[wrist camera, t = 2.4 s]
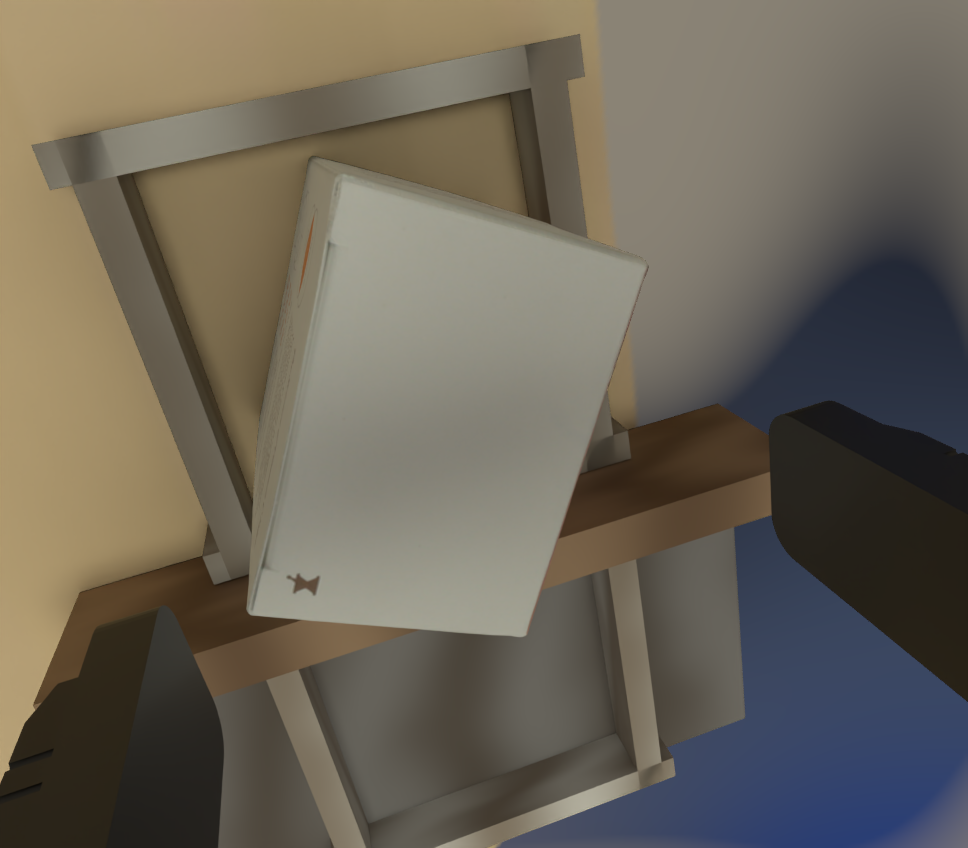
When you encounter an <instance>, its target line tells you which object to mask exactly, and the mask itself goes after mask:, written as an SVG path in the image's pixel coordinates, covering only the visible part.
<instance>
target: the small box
mask: <svg viewBox="0 0 968 848" xmlns="http://www.w3.org/2000/svg"><path fill="white" fill-rule="evenodd" d="M648 268H649V266H648V264H647V262H646V261H645V260H644V259H643V258H641V257H639V256H636V255H634V254H631V253H628V252H625V251H622V250H620V249H617V248H614V247H611V246H608V245H605V244H602V243H599V242H597V241H594V240H591V239H588V238H585V237H582V236H579V235H576V234H573V233H570V232H567V231H564V230H562V229H559V228H557V227H555V226H552V225H550V224H548V223H545V222H542V221H539V220H536V219H533V218H529V217H526V216H523V215H520V214H517V213H514V212H511V211H508V210H504V209H501V208H498V207H495V206H492V205H489V204H485V203H482V202H479V201H476V200H473V199H470V198H466V197H463V196H460V195H456V194H453V193H450V192H446V191H443V190H439V189H436V188H432V187H429V186H425V185H421V184H418V183H414V182H411V181H407V180H403V179H400V178H396V177H393V176H389V175H385V174H381V173H378V172H374V171H370V170H366V169H362V168H359V167H355V166H351V165H347V164H343V163H340V162H336V161H332V160H328V159H324V158H320V157H316V156H312V157H310V158H309V160H308V165H307V172H306V178H305V183H304V188H303V193H302V198H301V203H300V209H299V214H298V220H297V225H296V230H295V236H294V241H293V246H292V252H291V257H290V262H289V268H288V273H287V278H286V284H285V289H284V294H283V299H282V304H281V310H280V315H279V320H278V325H277V330H276V335H275V340H274V346H273V351H272V356H271V361H270V367H269V372H268V377H267V383H266V388H265V393H264V399H263V403H262V408H261V413H260V418H259V428H258V439H257V450H256V464H255V478H254V494H253V513H252V539H251V553H250V568H249V586H248V597H247V608H246V610H247V612H248V613H249V614H250V615H253V616H264V617H275V618H287V619H299V620H308V621H320V622H333V623H345V624H357V625H370V626H382V627H395V628H408V629H421V630H433V631H444V632H456V633H468V634H483V635H501V636H514V637H524V636H526V635H527V634H528V631H529V627H530V624H531V621H532V618H533V615H534V612H535V609H536V606H537V603H538V600H539V597H540V594H541V591H542V588H543V585H544V582H545V579H546V576H547V573H548V570H549V567H550V564H551V561H552V557H553V554H554V551H555V548H556V545H557V542H558V539H559V536H560V533H561V530H562V527H563V524H564V521H565V518H566V514H567V511H568V508H569V505H570V502H571V498H572V495H573V492H574V489H575V486H576V483H577V480H578V477H579V474H580V472H581V469H582V465H583V462H584V459H585V456H586V453H587V450H588V447H589V445H590V442H591V438H592V435H593V432H594V429H595V426H596V423H597V420H598V417H599V414H600V411H601V408H602V405H603V402H604V398H605V395H606V392H607V389H608V386H609V383H610V380H611V377H612V374H613V371H614V368H615V365H616V362H617V359H618V356H619V353H620V350H621V347H622V344H623V341H624V338H625V335H626V332H627V329H628V326H629V323H630V321H631V317H632V314H633V311H634V308H635V305H636V302H637V299H638V296H639V293H640V289H641V286H642V283H643V281H644V278H645V276H646V273H647V271H648Z"/></svg>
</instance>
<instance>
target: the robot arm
mask: <svg viewBox="0 0 968 848" xmlns="http://www.w3.org/2000/svg"><path fill="white" fill-rule="evenodd" d="M769 456H770V484H771V513H772V520H773V525H774V529H775V531H776V534H777V536H778V538H779V541H780V542H781V544H782V546H783V547H784V549H785V550H786V552H787V553H788V554H789V555H790V556H791V557H792V558H793V559H794V560H795V561H796V562H798V563H799V564H800V565H801V566H803V567H804V568H805V569H806V570H807V571H808V572H810V573H811V574H812V575H813V576H815V577H816V578H817V579H818V580H819V581H821V582H822V583H823V584H825V585H826V586H827V587H828V588H829V589H831V590H832V591H833V592H834V593H836V594H837V595H838V596H839V597H840V598H841V599H843V600H844V601H845V602H846V603H848V604H849V605H850V606H852V607H853V608H854V609H855V610H856V611H857V612H859V613H860V614H861V615H862V616H863V617H865V618H866V619H867V620H869V621H870V622H871V623H872V624H873V625H875V626H876V627H877V628H878V629H879V630H881V631H882V632H883V633H884V634H885V635H887V636H888V637H889V638H890V639H892V640H893V641H894V642H895V643H896V644H898V645H899V646H900V647H901V648H903V649H904V650H905V651H906V652H907V653H909V654H910V655H911V656H912V657H914V658H915V659H916V660H917V661H918V662H920V663H921V664H922V665H923V666H925V667H926V668H927V669H928V670H929V671H931V672H932V673H933V674H934V675H936V676H937V677H938V678H939V679H940V680H942V681H943V682H944V683H945V684H947V685H948V686H949V687H950V688H952V689H953V690H954V691H955V692H956V693H958V694H959V695H960V696H962V698H964V699H965V700H966V701H967V702H968V455H967V454H965V453H960V454H957V452H956V449H954V448H952V447H950V446H948V445H945V444H943V443H941V442H939V441H937V440H935V439H932V438H930V437H928V436H926V435H924V434H922V433H919V432H914V431H910V430H906V429H902V428H897V427H893V426H889V425H883V424H881V423H879V422H877V421H875V420H873V419H871V418H869V417H867V416H864V415H862V414H860V413H858V412H856V411H854V410H852V409H850V408H848V407H846V406H844V405H842V404H840V403H837V402H835V401H824V402H821V403H818V404H814V405H811V406H808V407H805V408H802V409H798V410H795V411H792V412H789V413H785V414H782V415H779V416H777V417H776V418H775V419H774V420H773V421H772V423H771V425H770V429H769ZM223 765H224V741H223V733H222V727H221V723H220V718H219V715H218V711H217V708H216V705H215V703H214V700H213V698H212V695H211V693H210V691H209V689H208V687H207V684H206V682H205V680H204V678H203V676H202V673H201V671H200V669H199V667H198V665H197V662H196V660H195V658H194V656H193V654H192V651H191V649H190V647H189V645H188V642H187V640H186V638H185V636H184V634H183V631H182V629H181V627H180V625H179V623H178V621H177V619H176V617H175V615H174V613H173V612H172V611H171V609H170V608H169V607H167V606H165V605H162V606H159V607H156V608H153V609H149V610H146V611H143V612H140V613H137V614H133V615H130V616H127V617H124V618H121V619H117V620H114V621H111V622H108V623H104V624H101V625H99V626H97V627H96V629H95V630H94V632H93V635H92V638H91V641H90V644H89V647H88V650H87V653H86V656H85V659H84V661H83V664H82V667H81V670H80V673H79V676H78V677H77V678H74V679H71V680H67V681H64V682H61V683H58V684H57V685H56V686H55V687H54V689H53V690H52V691H51V692H50V693H49V695H48V696H47V697H46V698H45V700H44V701H43V702H42V703H41V704H40V706H39V707H38V708H37V709H36V710H35V712H34V713H33V714H32V715H31V716H30V718H29V719H28V720H27V721H26V722H25V724H24V726H23V729H22V731H21V734H20V736H19V739H18V741H17V744H16V746H15V749H14V751H13V754H12V756H11V759H10V761H9V766H10V770H9V771H6V772H5V774H4V776H3V779H2V781H1V784H0V848H218V842H219V827H220V811H221V796H222V780H223Z"/></svg>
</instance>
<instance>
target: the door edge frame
mask: <svg viewBox="0 0 968 848" xmlns="http://www.w3.org/2000/svg"><path fill="white" fill-rule="evenodd" d="M580 77H585V73H584V65H583V57H582V48H581V40H580V34H578V35H573V36H568V37H563V38H558V39H553V40H548V41H543V42H538V43H533V44H528V45H523V46H518V47H513V48H509V49H504V50H499V51H494V52H489V53H484V54H479V55H474V56H469V57H464V58H459V59H454V60H449V61H444V62H439V63H435V64H430V65H425V66H420V67H415V68H410V69H405V70H400V71H395V72H390V73H385V74H380V75H375V76H370V77H365V78H360V79H356V80H351V81H346V82H341V83H336V84H331V85H326V86H321V87H316V88H311V89H306V90H301V91H296V92H291V93H286V94H281V95H277V96H272V97H267V98H262V99H257V100H252V101H247V102H242V103H237V104H232V105H227V106H222V107H217V108H212V109H207V110H203V111H198V112H193V113H188V114H183V115H178V116H173V117H168V118H163V119H158V120H153V121H148V122H143V123H138V124H133V125H128V126H124V127H119V128H114V129H109V130H104V131H99V132H94V133H89V134H84V135H79V136H74V137H69V138H64V139H59V140H54V141H49V142H45V143H40V144H35V145H31V146H32V148H33V151H34V153H35V155H36V158H37V160H38V163H39V165H40V167H41V170H42V172H43V175H44V177H45V179H46V182H47V184H48V187H49V189H50V190H53V189H58V188H63V187H67V186H73V188H74V191H75V193H76V196H77V198H78V201H79V203H80V206H81V208H82V211H83V213H84V216H85V218H86V221H87V223H88V226H89V228H90V231H91V233H92V236H93V238H94V241H95V243H96V246H97V248H98V251H99V253H100V256H101V258H102V260H103V263H104V265H105V268H106V270H107V273H108V275H109V278H110V280H111V283H112V285H113V288H114V290H115V293H116V295H117V298H118V300H119V303H120V305H121V308H122V310H123V313H124V315H125V318H126V320H127V323H128V325H129V328H130V330H131V333H132V335H133V337H134V340H135V342H136V345H137V347H138V350H139V352H140V355H141V357H142V360H143V362H144V365H145V367H146V370H147V372H148V375H149V377H150V380H151V382H152V385H153V387H154V390H155V392H156V395H157V397H158V400H159V402H160V405H161V407H162V410H163V412H164V414H165V417H166V419H167V422H168V424H169V427H170V429H171V432H172V434H173V437H174V439H175V442H176V444H177V447H178V449H179V452H180V454H181V457H182V459H183V462H184V464H185V467H186V469H187V472H188V474H189V477H190V479H191V482H192V484H193V487H194V489H195V491H196V494H197V496H198V499H199V501H200V504H201V506H202V509H203V511H204V514H205V516H206V519H207V521H208V526H207V532H206V539H205V545H204V551H203V556H202V557H199V558H195V559H192V560H189V561H185V562H182V563H179V564H175V565H172V566H168V567H165V568H162V569H158V570H155V571H152V572H148V573H145V574H142V575H138V576H135V577H131V578H128V579H125V580H121V581H118V582H115V583H111V584H108V585H104V586H101V587H98V588H94V589H91V590H88V591H84V592H81V593H79V595H78V598H77V600H76V603H75V605H74V607H73V610H72V612H71V615H70V617H69V620H68V622H67V624H66V627H65V629H64V632H63V634H62V636H61V639H60V641H59V644H58V646H57V649H56V651H55V653H54V656H53V658H52V661H51V663H50V665H49V668H48V670H47V673H46V675H45V678H44V680H43V682H42V685H41V687H40V690H39V692H38V694H37V697H36V699H35V702H34V704H33V706H34V708H35V710H36V709H37V708H38V707H39V706H40V704H41V703H42V702H43V701H44V700H45V698H46V697H47V696H48V695H49V693H50V692H51V691H52V690H53V689H54V687H55V686H56V685H57V684H58V683H61V682H64V681H67V680H71V679H74V678H77V677H78V676H79V673H80V670H81V667H82V664H83V661H84V659H85V656H86V653H87V650H88V647H89V644H90V641H91V638H92V635H93V632H94V630H95V629H96V627H97V626H99V625H101V624H104V623H108V622H111V621H114V620H117V619H121V618H124V617H127V616H130V615H133V614H137V613H140V612H143V611H146V610H149V609H153V608H156V607H159V606H162V605H165V606H167V607H169V608H170V609H171V611H172V612H173V613H174V615H175V617H176V619H177V621H178V623H179V625H180V627H181V629H182V631H183V634H184V636H185V638H186V640H187V642H188V645H189V647H190V649H191V651H192V654H193V656H194V658H195V660H196V662H197V665H198V667H199V669H200V671H201V673H202V676H203V678H204V680H205V682H206V684H207V687H208V689H209V691H210V693H211V695H212V698H213V700H214V703H215V705H216V708H217V711H218V715H219V718H220V723H221V727H222V733H223V741H224V765H223V780H222V796H221V811H220V827H219V842H218V848H487V847H490V846H492V845H495V844H498V843H500V842H503V841H505V840H508V839H511V838H513V837H516V836H519V835H521V834H524V833H526V832H529V831H532V830H534V829H537V828H539V827H542V826H545V825H548V824H550V823H553V822H555V821H558V820H561V819H563V818H566V817H569V816H571V815H574V814H576V813H579V812H581V811H584V810H587V809H590V808H592V807H595V806H597V805H600V804H603V803H605V802H608V801H610V800H613V799H616V798H618V797H621V796H624V795H626V794H629V793H632V792H634V791H637V790H639V789H642V788H645V787H647V786H650V785H652V784H655V783H658V782H660V781H663V780H666V779H668V778H671V777H673V776H675V769H674V760H673V757H672V755H671V753H670V752H669V750H668V749H667V747H669V746H671V745H674V744H677V743H679V742H682V741H685V740H687V739H690V738H693V737H695V736H698V735H701V734H704V733H706V732H709V731H711V730H714V729H717V728H719V727H722V726H725V725H728V724H730V723H733V722H736V721H738V720H741V719H744V718H745V707H744V690H743V673H742V657H741V642H740V641H741V640H740V623H739V606H738V590H737V572H736V555H735V538H734V527H736V526H739V525H742V524H745V523H748V522H751V521H754V520H757V519H760V518H764V517H767V516H769V515H772V513H771V484H770V456H769V435H767V434H765V433H764V432H762V431H760V430H759V429H757V428H756V427H754V426H752V425H751V424H749V423H748V422H746V421H744V420H743V419H742V418H740V417H738V416H737V415H735V414H734V413H732V412H730V411H729V410H727V409H725V408H724V407H722V406H721V405H719V404H715V405H711V406H708V407H704V408H701V409H698V410H694V411H691V412H688V413H684V414H681V415H678V416H674V417H671V418H668V419H664V420H661V421H658V422H654V423H651V424H647V425H644V426H640V427H637V428H634V429H630V430H626V429H625V428H624V427H623V426H622V425H620V424H619V423H618V422H617V421H616V420H615V419H613V418H612V417H611V414H610V406H609V399H608V391H607V392H606V395H605V398H604V402H603V405H602V408H601V411H600V414H599V417H598V420H597V423H596V426H595V429H594V432H593V435H592V438H591V442H590V445H589V447H588V450H587V453H586V456H585V459H584V462H583V465H582V469H581V472H580V474H579V477H578V480H577V483H576V486H575V489H574V492H573V495H572V498H571V502H570V505H569V508H568V511H567V514H566V518H565V521H564V524H563V527H562V530H561V533H560V536H559V539H558V542H557V545H556V548H555V551H554V554H553V557H552V561H551V564H550V567H549V570H548V573H547V576H546V579H545V582H544V585H543V588H542V591H541V594H540V597H539V600H538V603H537V606H536V609H535V612H534V615H533V618H532V621H531V624H530V627H529V631H528V634H527V635H526V636H524V637H514V636H501V635H483V634H468V633H456V632H444V631H433V630H421V629H408V628H395V627H382V626H370V625H357V624H345V623H333V622H320V621H308V620H299V619H287V618H275V617H264V616H253V615H250V614H249V613H248V612H247V610H246V608H247V597H248V586H249V568H250V553H251V539H252V513H253V502H252V499H251V496H250V493H249V491H248V488H247V485H246V483H245V480H244V477H243V474H242V472H241V469H240V466H239V464H238V461H237V458H236V455H235V453H234V450H233V447H232V445H231V442H230V439H229V436H228V434H227V431H226V428H225V426H224V423H223V420H222V417H221V415H220V412H219V409H218V407H217V404H216V401H215V398H214V396H213V393H212V390H211V388H210V385H209V382H208V379H207V377H206V374H205V371H204V369H203V366H202V363H201V360H200V358H199V355H198V352H197V350H196V347H195V344H194V341H193V339H192V336H191V333H190V331H189V328H188V325H187V322H186V320H185V317H184V314H183V312H182V309H181V306H180V303H179V301H178V298H177V295H176V293H175V290H174V287H173V284H172V282H171V279H170V276H169V274H168V271H167V268H166V265H165V263H164V260H163V257H162V255H161V252H160V249H159V246H158V244H157V241H156V238H155V236H154V233H153V230H152V227H151V225H150V222H149V219H148V217H147V214H146V211H145V208H144V206H143V203H142V200H141V198H140V195H139V192H138V189H137V187H136V184H135V181H134V179H133V176H132V173H133V172H138V171H143V170H147V169H152V168H157V167H161V166H166V165H171V164H176V163H180V162H185V161H190V160H194V159H199V158H204V157H208V156H213V155H218V154H223V153H227V152H232V151H237V150H241V149H246V148H251V147H255V146H260V145H265V144H270V143H274V142H279V141H284V140H288V139H293V138H298V137H303V136H307V135H312V134H317V133H321V132H326V131H331V130H335V129H340V128H345V127H350V126H354V125H359V124H364V123H368V122H373V121H378V120H383V119H387V118H392V117H397V116H401V115H406V114H411V113H415V112H420V111H425V110H430V109H434V108H439V107H444V106H448V105H453V104H458V103H463V102H467V101H472V100H477V99H481V98H486V97H491V96H495V95H500V94H505V93H509V95H510V101H511V107H512V113H513V120H514V126H515V132H516V138H517V144H518V151H519V157H520V163H521V169H522V176H523V182H524V188H525V194H526V201H527V207H528V213H529V218H533V219H536V220H539V221H542V222H545V223H548V224H550V225H552V226H555V227H557V228H559V229H562V230H564V231H567V232H570V233H573V234H576V235H579V236H582V237H585V238H588V237H587V230H586V222H585V214H584V207H583V199H582V191H581V184H580V176H579V168H578V161H577V153H576V145H575V138H574V130H573V122H572V114H571V107H570V99H569V91H568V84H567V80H571V79H575V78H580Z"/></svg>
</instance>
